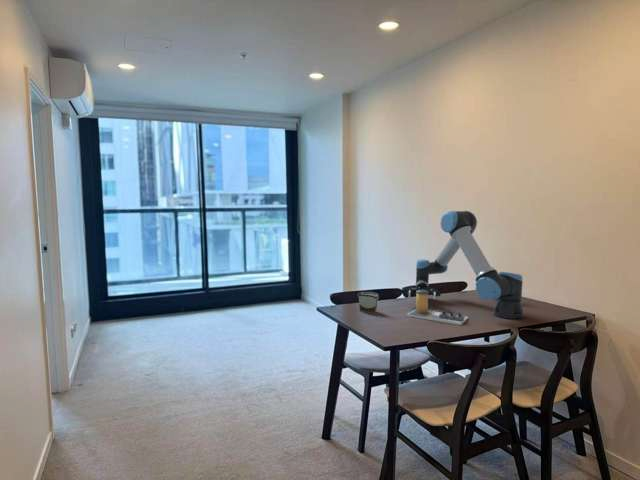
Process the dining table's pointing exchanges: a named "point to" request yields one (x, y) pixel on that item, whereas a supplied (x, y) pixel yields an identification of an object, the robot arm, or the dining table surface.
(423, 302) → the yellow jar
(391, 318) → the dining table surface
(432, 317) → the board
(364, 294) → the food container
